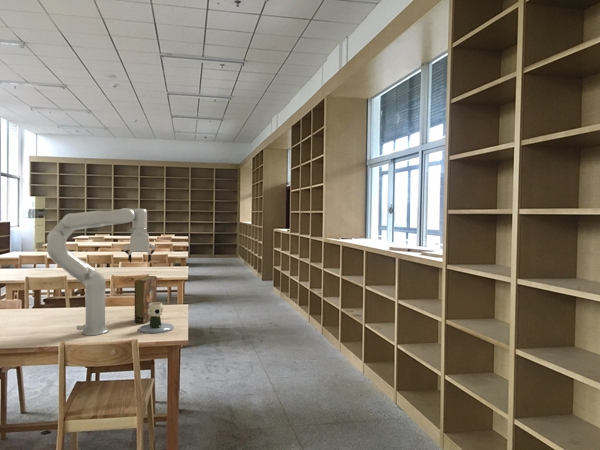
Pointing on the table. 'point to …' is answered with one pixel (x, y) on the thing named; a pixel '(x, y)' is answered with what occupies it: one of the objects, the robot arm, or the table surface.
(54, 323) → the table surface
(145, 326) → the saucer
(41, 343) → the table surface
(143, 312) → the book
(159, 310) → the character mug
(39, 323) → the table surface
